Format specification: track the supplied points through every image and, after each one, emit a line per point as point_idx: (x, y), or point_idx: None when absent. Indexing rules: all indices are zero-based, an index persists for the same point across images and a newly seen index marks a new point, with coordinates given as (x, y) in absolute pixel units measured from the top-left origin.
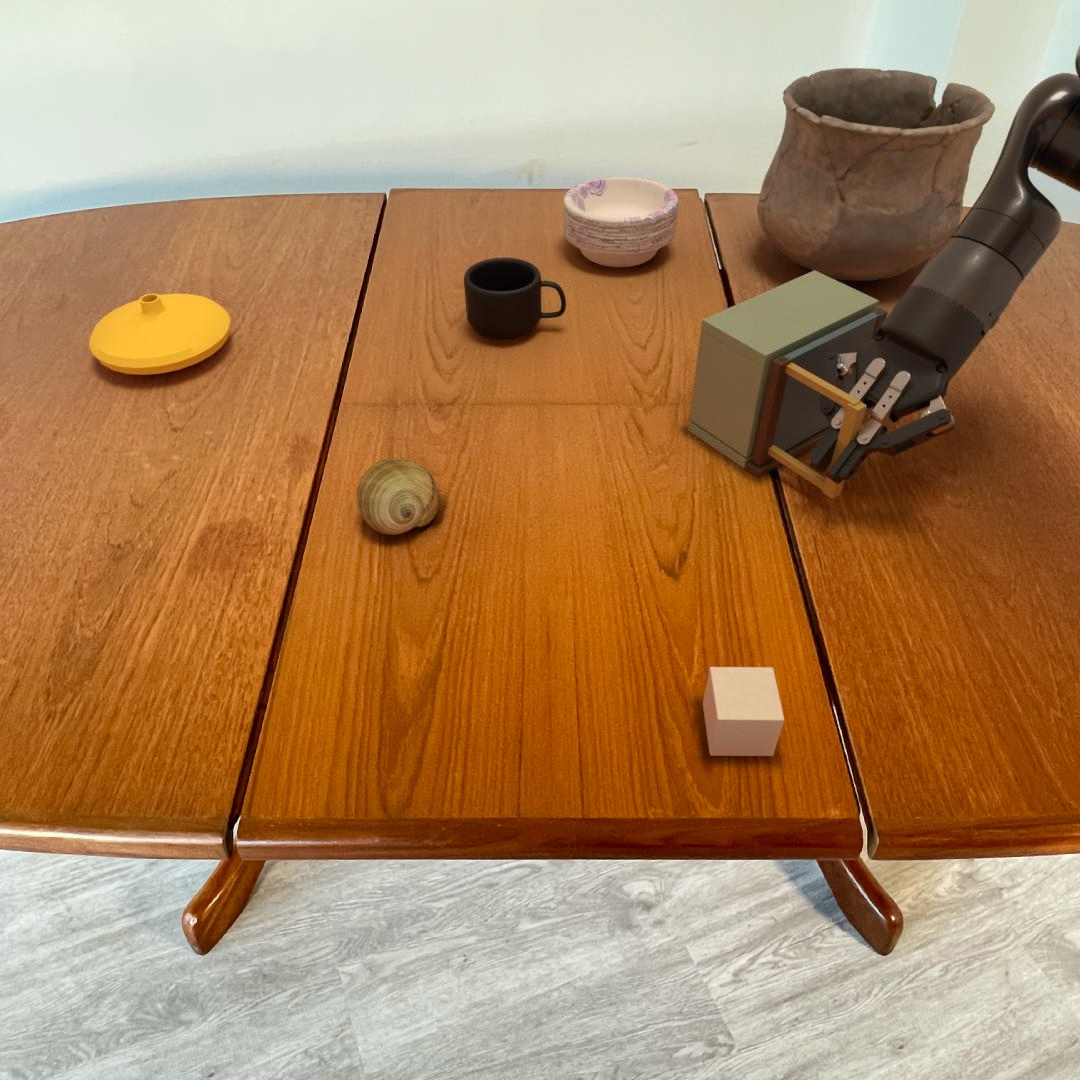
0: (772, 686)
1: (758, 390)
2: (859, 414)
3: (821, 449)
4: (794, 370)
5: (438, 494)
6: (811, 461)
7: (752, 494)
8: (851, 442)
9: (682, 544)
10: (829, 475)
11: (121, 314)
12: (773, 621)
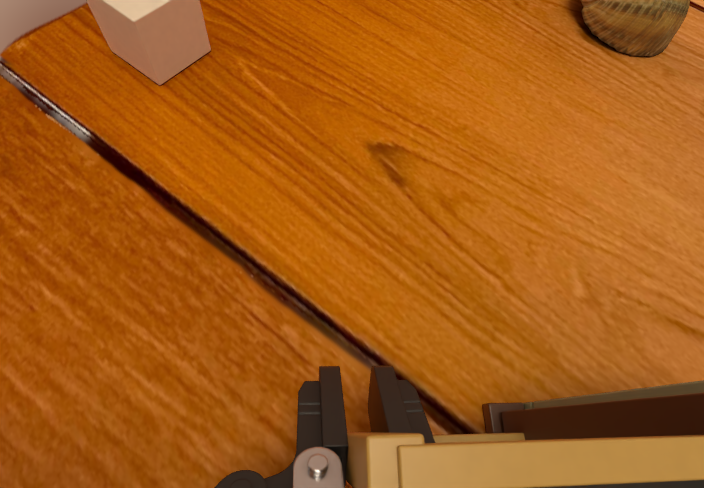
0: (116, 3)
1: (671, 385)
2: (361, 454)
3: (396, 392)
4: (702, 436)
5: (624, 35)
6: (390, 366)
7: (451, 360)
8: (342, 441)
9: (416, 193)
10: (330, 366)
11: None
12: (230, 179)
